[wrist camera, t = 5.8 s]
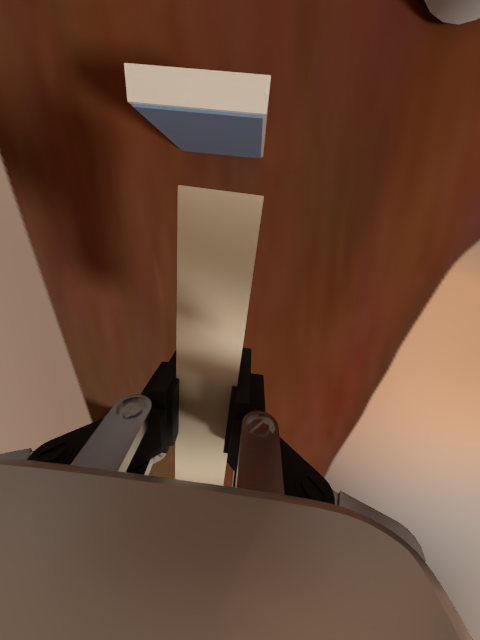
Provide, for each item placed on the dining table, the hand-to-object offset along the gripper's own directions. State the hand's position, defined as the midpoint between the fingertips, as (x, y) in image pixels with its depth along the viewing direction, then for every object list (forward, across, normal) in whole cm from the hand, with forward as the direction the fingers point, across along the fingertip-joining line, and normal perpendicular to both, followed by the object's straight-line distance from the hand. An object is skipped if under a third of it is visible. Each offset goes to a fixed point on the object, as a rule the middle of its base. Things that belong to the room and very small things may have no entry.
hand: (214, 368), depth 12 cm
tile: (+16, +3, -14) cm, 22 cm away
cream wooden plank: (+1, 0, 0) cm, 1 cm away
